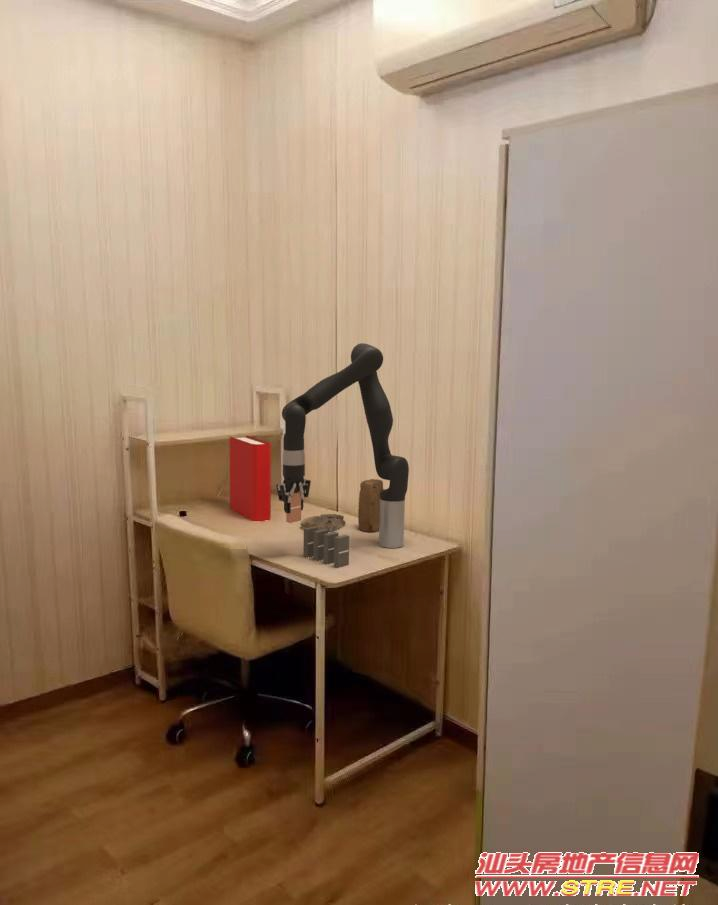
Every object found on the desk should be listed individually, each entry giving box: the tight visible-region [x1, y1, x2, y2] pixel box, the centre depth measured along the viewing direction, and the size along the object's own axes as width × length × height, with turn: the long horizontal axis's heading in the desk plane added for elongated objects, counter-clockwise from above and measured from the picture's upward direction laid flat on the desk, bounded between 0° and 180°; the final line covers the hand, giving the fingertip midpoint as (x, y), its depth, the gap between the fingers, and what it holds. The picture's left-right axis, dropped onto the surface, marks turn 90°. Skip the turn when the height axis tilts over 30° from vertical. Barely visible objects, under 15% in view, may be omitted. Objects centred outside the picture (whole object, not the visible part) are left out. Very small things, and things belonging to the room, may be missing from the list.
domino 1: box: [285, 492, 302, 524], centre depth 250 cm, size 2×5×10 cm, turn 137°
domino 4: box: [322, 531, 340, 565], centre depth 246 cm, size 2×5×10 cm, turn 136°
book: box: [229, 435, 272, 522], centre depth 310 cm, size 27×8×32 cm, turn 31°
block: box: [357, 478, 384, 533], centre depth 290 cm, size 11×8×20 cm
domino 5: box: [333, 534, 350, 568], centre depth 243 cm, size 2×5×10 cm, turn 137°
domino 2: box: [302, 526, 318, 559], centre depth 253 cm, size 2×5×10 cm, turn 137°
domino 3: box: [312, 529, 328, 562], centre depth 250 cm, size 2×5×10 cm, turn 137°
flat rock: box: [300, 513, 346, 533], centre depth 293 cm, size 14×5×20 cm
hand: (293, 511), depth 250 cm, fingers closed on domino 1, 5 cm apart
